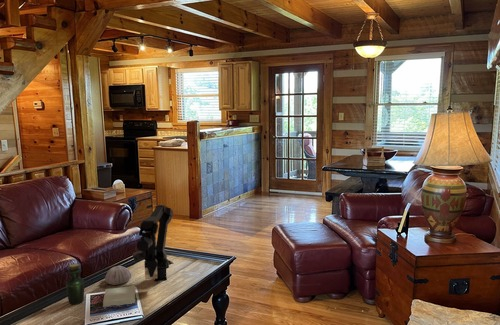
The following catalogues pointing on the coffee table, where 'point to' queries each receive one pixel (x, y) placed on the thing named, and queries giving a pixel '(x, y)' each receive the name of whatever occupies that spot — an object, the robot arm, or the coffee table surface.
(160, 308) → the coffee table surface
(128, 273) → the sea urchin shell
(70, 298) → the potion bottle
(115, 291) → the sage base block
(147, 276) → the birch cube
